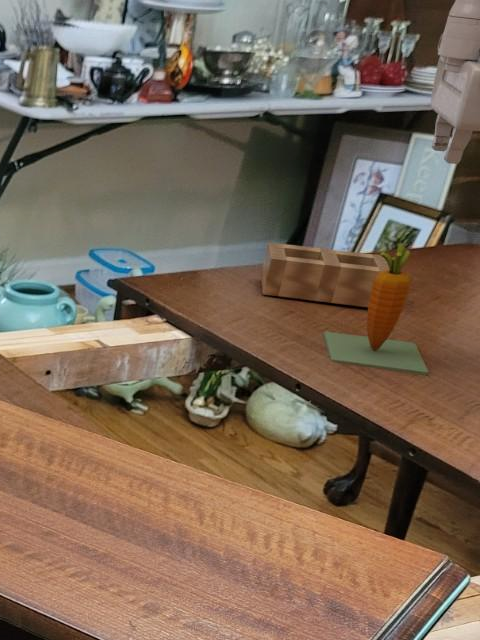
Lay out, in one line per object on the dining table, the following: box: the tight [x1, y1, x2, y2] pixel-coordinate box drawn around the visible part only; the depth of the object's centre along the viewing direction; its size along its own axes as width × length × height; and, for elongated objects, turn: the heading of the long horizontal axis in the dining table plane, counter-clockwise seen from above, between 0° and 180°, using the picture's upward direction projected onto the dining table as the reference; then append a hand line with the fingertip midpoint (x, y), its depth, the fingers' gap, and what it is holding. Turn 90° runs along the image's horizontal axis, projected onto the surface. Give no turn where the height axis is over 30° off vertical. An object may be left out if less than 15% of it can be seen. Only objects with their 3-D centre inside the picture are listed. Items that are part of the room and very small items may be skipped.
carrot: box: [366, 242, 412, 351], centre depth 155 cm, size 5×5×15 cm
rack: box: [260, 242, 389, 308], centre depth 185 cm, size 20×11×6 cm, turn 75°
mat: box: [322, 330, 430, 376], centre depth 160 cm, size 13×13×1 cm
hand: (444, 156), depth 150 cm, fingers open, 8 cm apart
